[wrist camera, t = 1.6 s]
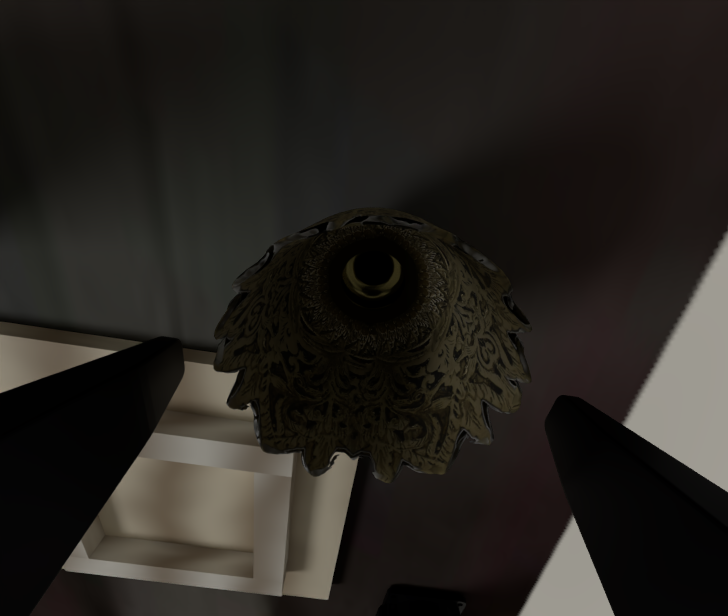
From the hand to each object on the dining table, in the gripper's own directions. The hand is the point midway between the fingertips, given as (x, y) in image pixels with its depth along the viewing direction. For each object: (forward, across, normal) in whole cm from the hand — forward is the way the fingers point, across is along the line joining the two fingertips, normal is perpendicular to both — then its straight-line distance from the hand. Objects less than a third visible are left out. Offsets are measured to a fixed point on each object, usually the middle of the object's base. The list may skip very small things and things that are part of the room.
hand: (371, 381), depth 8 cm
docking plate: (+8, +10, +17) cm, 21 cm away
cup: (+8, 0, 0) cm, 8 cm away
